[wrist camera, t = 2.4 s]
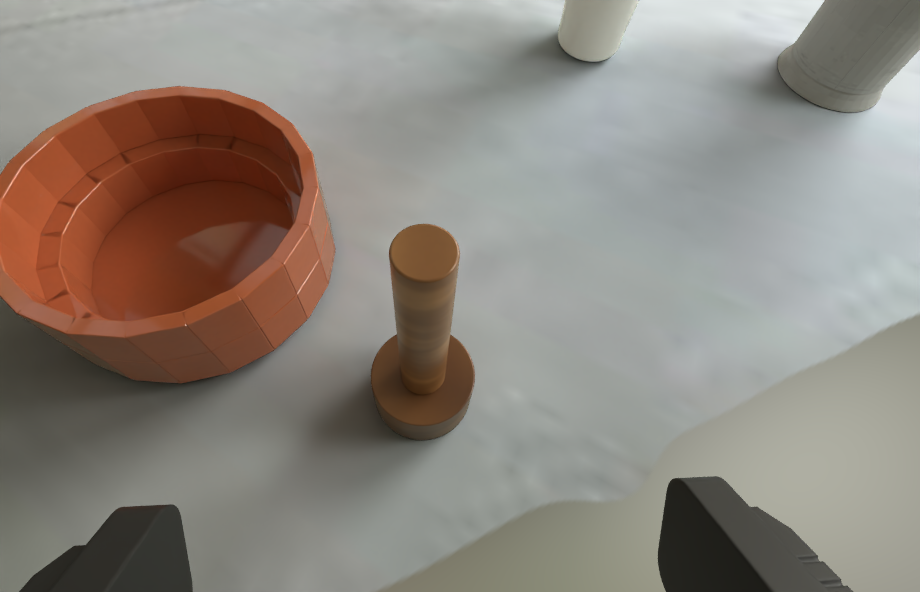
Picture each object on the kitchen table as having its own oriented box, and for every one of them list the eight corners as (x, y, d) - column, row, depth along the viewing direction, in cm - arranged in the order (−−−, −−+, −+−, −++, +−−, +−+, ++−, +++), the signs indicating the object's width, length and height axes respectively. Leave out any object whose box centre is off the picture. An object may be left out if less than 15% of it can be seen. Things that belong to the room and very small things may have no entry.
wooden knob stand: (406, 460, 26) (392, 359, 14) (358, 378, 28) (310, 227, 16) (488, 407, 28) (541, 275, 16) (437, 333, 30) (449, 165, 18)
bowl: (108, 442, 26) (19, 404, 20) (34, 226, 31) (-51, 149, 26) (380, 301, 31) (371, 238, 25) (273, 136, 36) (246, 55, 31)
